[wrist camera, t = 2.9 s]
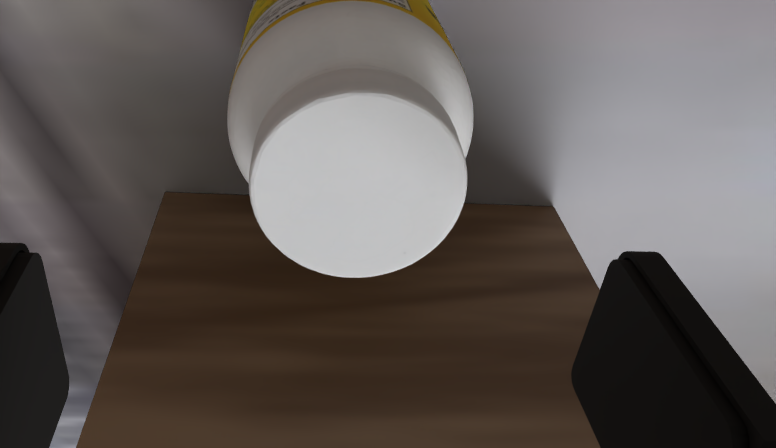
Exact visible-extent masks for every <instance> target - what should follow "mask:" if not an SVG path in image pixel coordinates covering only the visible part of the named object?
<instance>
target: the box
mask: <svg viewBox="0 0 776 448" xmlns="http://www.w3.org/2000/svg"><path fill="white" fill-rule="evenodd" d="M599 291H600V290H599V288H598V286H597V284H596V283H595V281H594V279H593V277H592V275H591V273H590V272H589V270H588V268H587V266H586V264H585V263H584V261H583V259H582V257H581V255H580V253H579V252H578V250H577V248H576V246H575V244H574V243H573V241H572V239H571V237H570V235H569V233H568V232H567V230H566V228H565V226H564V224H563V223H562V221H561V219H560V217H559V215H558V213H557V212H556V210H555V208H554V207H548V206H522V205H495V204H468V203H464V205H463V207H462V210H461V212H460V215H459V217H458V219H457V221H456V223H455V224H454V226H453V228H452V229H451V230H450V232H449V233H448V234H447V236H446V237H445V238H444V240H443V241H442V242H441V243H440V244H439V245H438V246H437V247H436V248H434V249H433V250H432V251H431V252H430V253H428V254H427V255H426V256H424V257H423V258H421V259H420V260H418V261H416V262H415V263H413V264H411V265H409V266H407V267H404V268H402V269H400V270H397V271H394V272H391V273H387V274H383V275H378V276H372V277H363V278H349V277H337V276H331V275H327V274H323V273H319V272H316V271H314V270H311V269H308V268H306V267H304V266H302V265H300V264H298V263H296V262H295V261H293V260H292V259H290V258H288V257H287V256H286V255H284V254H283V253H282V252H281V251H280V250H279V249H278V248H277V247H275V246H274V245H273V244H272V243H271V241H270V240H269V239H268V238H267V237H266V235H265V234H264V232H263V231H262V229H261V227H260V225H259V224H258V222H257V219H256V217H255V215H254V212H253V208H252V205H251V201H250V195H229V194H202V193H176V192H165V193H164V196H163V199H162V202H161V205H160V208H159V211H158V214H157V216H156V219H155V222H154V225H153V228H152V231H151V234H150V237H149V239H148V242H147V245H146V248H145V251H144V254H143V257H142V260H141V262H140V265H139V268H138V271H137V274H136V277H135V280H134V283H133V286H132V288H131V291H130V294H129V297H128V300H127V303H126V306H125V309H124V311H123V314H122V317H121V320H120V323H119V326H118V329H117V332H116V334H115V337H114V340H113V343H112V346H111V349H110V352H109V355H108V357H107V360H106V363H105V366H104V369H103V372H102V375H101V378H100V380H99V383H98V386H97V389H96V392H95V395H94V398H93V401H92V403H91V406H90V409H89V412H88V415H87V418H86V421H85V424H84V427H83V429H82V432H81V435H80V438H79V441H78V444H77V447H76V448H601V447H600V445H599V443H598V441H597V439H596V436H595V434H594V432H593V430H592V428H591V425H590V423H589V421H588V419H587V417H586V415H585V412H584V410H583V408H582V406H581V404H580V401H579V399H578V397H577V395H576V393H575V390H574V388H573V385H572V379H571V371H572V366H573V364H574V361H575V358H576V355H577V352H578V350H579V347H580V344H581V341H582V339H583V336H584V333H585V330H586V327H587V325H588V322H589V319H590V316H591V314H592V311H593V308H594V305H595V302H596V300H597V297H598V294H599Z"/></svg>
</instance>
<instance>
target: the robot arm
mask: <svg viewBox="0 0 776 448" xmlns="http://www.w3.org/2000/svg"><path fill="white" fill-rule="evenodd" d="M571 379H572V385H573V388H574V390H575V393H576V395H577V397H578V399H579V401H580V404H581V406H582V408H583V410H584V412H585V415H586V417H587V419H588V421H589V423H590V425H591V428H592V430H593V432H594V434H595V436H596V439H597V441H598V443H599V445H600V447H601V448H776V404H775V402H774V401H773V400H772V399H771V397H770V396H769V395H768V393H767V392H766V391H765V389H764V388H763V387H762V385H761V384H760V383H759V382H758V380H757V379H756V378H755V376H754V375H753V374H752V372H751V371H750V370H749V368H748V367H747V366H746V365H745V363H744V362H743V361H742V359H741V358H740V357H739V355H738V354H737V353H736V352H735V350H734V349H733V348H732V346H731V345H730V344H729V342H728V341H727V340H726V338H725V337H724V336H723V335H722V333H721V332H720V331H719V329H718V328H717V327H716V325H715V324H714V323H713V322H712V320H711V319H710V318H709V316H708V315H707V314H706V312H705V311H704V310H703V308H702V307H701V306H700V305H699V303H698V302H697V301H696V299H695V298H694V297H693V295H692V294H691V293H690V291H689V290H688V289H687V288H686V286H685V285H684V284H683V282H682V281H681V280H680V278H679V277H678V276H677V275H676V273H675V272H674V271H673V269H672V268H671V267H670V265H669V264H668V263H667V261H666V260H665V259H664V258H663V256H662V255H661V254H659V253H657V252H634V251H626V252H623V253H622V254H621V255H620V256H619V258H618V259H615V260H613V261H612V262H611V263H610V264H609V266H608V269H607V272H606V275H605V277H604V280H603V283H602V286H601V288H600V291H599V294H598V297H597V300H596V302H595V305H594V308H593V311H592V314H591V316H590V319H589V322H588V325H587V327H586V330H585V333H584V336H583V339H582V341H581V344H580V347H579V350H578V352H577V355H576V358H575V361H574V364H573V366H572V371H571ZM68 390H69V375H68V370H67V366H66V361H65V357H64V353H63V348H62V344H61V340H60V335H59V331H58V327H57V323H56V318H55V314H54V310H53V305H52V301H51V297H50V292H49V288H48V284H47V279H46V275H45V271H44V266H43V262H42V259H41V256H40V255H39V254H38V253H29V250H28V248H27V246H26V245H25V244H23V243H0V448H49V446H50V443H51V441H52V438H53V435H54V432H55V430H56V427H57V424H58V421H59V419H60V416H61V413H62V410H63V408H64V405H65V402H66V399H67V396H68Z"/></svg>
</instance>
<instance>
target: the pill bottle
mask: <svg viewBox="0 0 776 448" xmlns="http://www.w3.org/2000/svg"><path fill="white" fill-rule="evenodd" d="M473 115H474V114H473V101H472V96H471V92H470V88H469V85H468V81H467V78H466V75H465V73H464V70H463V68H462V66H461V64H460V62H459V60H458V58H457V56H456V54H455V52H454V50H453V48H452V46H451V44H450V42H449V40H448V38H447V36H446V34H445V32H444V30H443V28H442V27H441V25H440V23H439V21H438V19H437V17H436V15H435V13H434V12H433V10H432V8H431V6H430V4H429V2H428V0H254V1H253V4H252V7H251V11H250V14H249V18H248V21H247V25H246V29H245V33H244V37H243V41H242V45H241V49H240V53H239V57H238V60H237V64H236V68H235V72H234V76H233V80H232V84H231V88H230V93H229V100H228V111H227V127H228V136H229V142H230V146H231V149H232V153H233V156H234V158H235V161H236V163H237V165H238V167H239V169H240V171H241V173H242V175H243V176H244V178H245V179H246V181H247V182H248V184H249V195H250V201H251V205H252V208H253V212H254V215H255V217H256V219H257V222H258V224H259V225H260V227H261V229H262V231H263V232H264V234H265V235H266V237H267V238H268V239H269V240H270V241H271V243H272V244H273V245H274V246H275V247H277V248H278V249H279V250H280V251H281V252H282V253H283V254H284V255H286V256H287V257H288V258H290V259H292V260H293V261H295V262H296V263H298V264H300V265H302V266H304V267H306V268H308V269H311V270H314V271H316V272H319V273H323V274H327V275H331V276H337V277H349V278H363V277H372V276H378V275H383V274H387V273H391V272H394V271H397V270H400V269H402V268H404V267H407V266H409V265H411V264H413V263H415V262H416V261H418V260H420V259H421V258H423V257H424V256H426V255H427V254H428V253H430V252H431V251H432V250H433V249H434V248H436V247H437V246H438V245H439V244H440V243H441V242H442V241H443V240H444V238H445V237H446V236H447V234H448V233H449V232H450V230H451V229H452V228H453V226H454V224H455V223H456V221H457V219H458V217H459V215H460V212H461V210H462V207H463V205H464V201H465V197H466V191H467V166H466V160H465V158H466V156H467V153H468V150H469V147H470V143H471V138H472V132H473Z"/></svg>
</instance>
